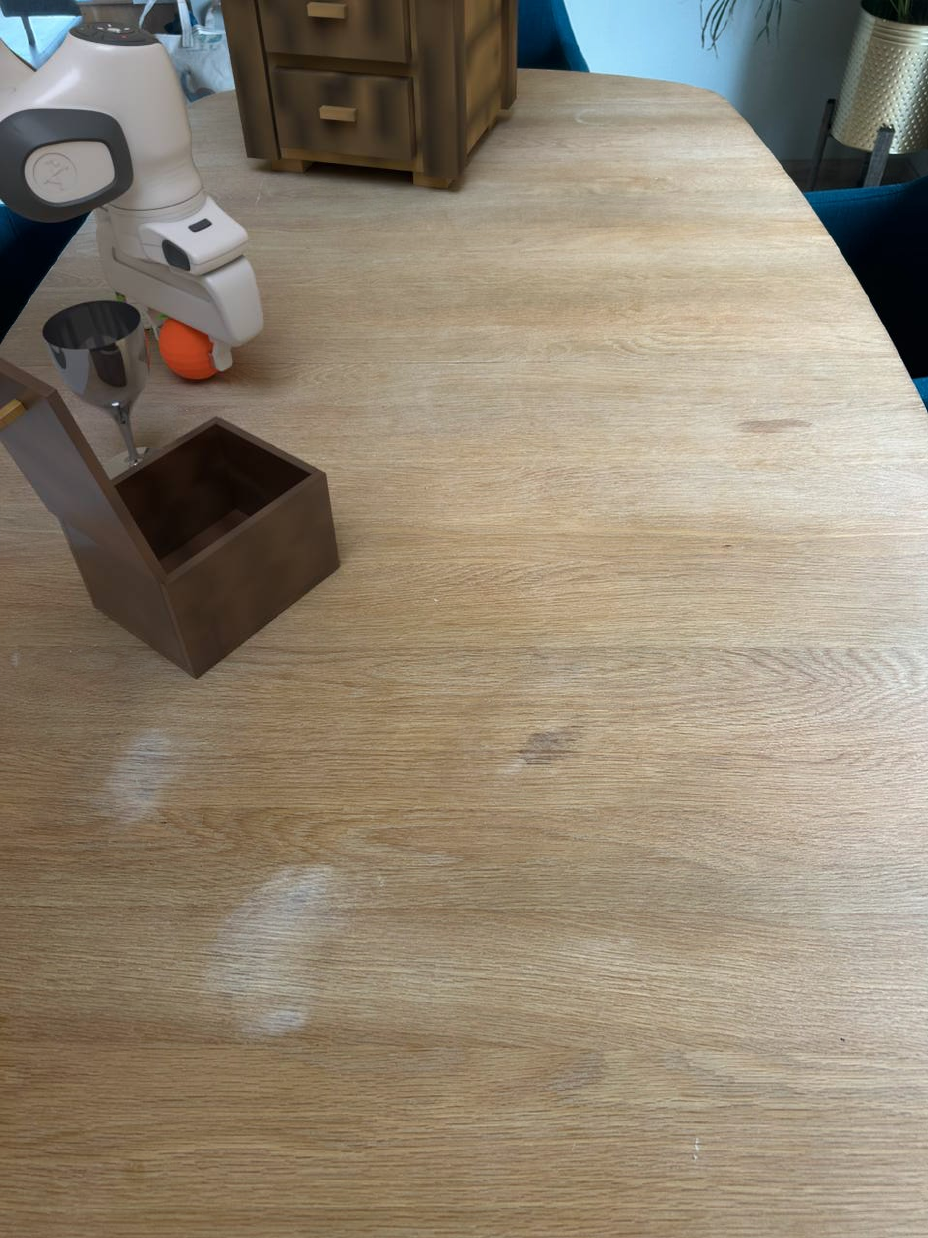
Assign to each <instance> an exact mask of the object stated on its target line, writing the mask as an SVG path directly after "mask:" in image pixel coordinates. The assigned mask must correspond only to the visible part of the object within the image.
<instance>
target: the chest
mask: <svg viewBox="0 0 928 1238" xmlns="http://www.w3.org/2000/svg"><path fill="white" fill-rule="evenodd" d="M111 482H112V484H113V485H114V487H115V489H116V490H117V492H118V494H119V495H120V497H121V499H122V500H123V502H124V504H125V506H126V507H127V509H128V511H129V512H130V514H131V516H132V517H133V519H134V521H135V522H136V524H137V526H138V527H139V529H140V531H141V533H142V534H143V536H144V538H145V539H146V541H147V543H148V544H149V546H150V548H151V549H152V551H153V553H154V554H155V556H156V558H157V560H158V561H159V563H160V565H161V566H162V568H163V570H164V571H165V573H166V575H167V578H166V579H165V580H164V581H163V582H162V583H160V584H158V583H157V582H155V581H154V580H152V579H151V578H149V577H148V576H146V575H145V574H143V573H142V572H140V571H139V570H137V569H135V568H134V567H132V566H131V565H129V564H128V563H126V562H125V561H123V560H122V559H120V558H119V557H117V556H116V555H114V554H113V553H111V552H110V551H108V550H107V549H105V548H104V547H102V546H101V545H99V544H98V543H96V542H95V541H93V540H92V539H90V538H89V537H87V536H86V535H84V534H82V533H81V532H79V531H78V530H76V529H75V528H73V527H72V526H70V525H69V524H67V523H66V522H64V521H63V520H61V519H60V518H58V517H57V516H56V518H57V520H58V522H59V525H60V528H61V530H62V532H63V535H64V537H65V539H66V542H67V545H68V547H69V549H70V552H71V554H72V557H73V560H74V562H75V564H76V566H77V569H78V572H79V574H80V577H81V580H82V582H83V584H84V586H85V588H86V592H87V593H88V596H89V599H90V601H91V603H92V605H93V607H94V608H95V609H97V611H99V612H100V613H102V614H104V615H105V616H106V617H108V618H109V619H111V620H112V621H113V622H114V623H116V624H118V625H119V626H121V627H122V628H124V629H125V630H126V631H127V632H129V633H130V634H132V635H133V636H134V637H136V638H137V639H139V640H140V641H141V642H143V643H144V644H146V645H147V646H148V647H150V648H151V649H153V650H154V651H156V652H157V653H159V654H160V655H161V656H163V658H166V659H167V660H168V661H170V662H171V663H173V664H174V665H176V666H177V667H178V668H180V669H181V670H183V671H184V672H185V673H187V674H188V675H190V676H191V677H192V678H194V679H195V680H197V679H199V678H200V677H201V676H202V675H204V674H205V673H206V672H208V671H209V670H210V669H211V668H213V667H214V666H216V664H218V663H219V662H221V661H222V660H223V659H224V658H225V657H227V656H228V655H230V653H232V652H233V651H234V650H236V649H237V648H239V646H241V645H243V644H244V643H245V642H246V641H247V640H248V639H250V638H251V637H252V636H254V635H255V634H256V633H258V632H259V631H260V630H261V629H263V628H264V627H266V625H268V624H269V623H270V622H272V620H274V619H275V618H276V617H278V616H279V615H281V614H282V613H283V612H285V610H287V609H288V608H289V607H290V606H292V605H293V604H295V603H296V602H297V601H298V600H300V599H301V598H302V597H303V596H305V595H306V594H307V593H308V592H310V591H312V589H314V588H315V587H316V586H318V585H319V584H320V583H322V581H324V580H325V579H327V578H328V577H329V576H330V575H331V574H333V573H334V572H335V571H337V570H338V569H339V568H340V567H341V563H340V557H339V556H340V555H339V550H338V543H337V537H336V530H335V525H334V523H335V522H334V517H333V510H332V504H331V495H330V489H329V482H328V477H327V472H325V471H323V470H321V469H320V468H317V467H316V466H313V465H312V464H310V463H308V462H306V461H304V460H303V459H300V458H298V457H297V456H294V455H293V454H290V453H289V452H288V451H285V450H283V449H282V448H280V447H277V446H275V445H273V444H271V443H270V442H268V441H265V440H264V439H262V438H260V437H258V436H256V435H254V434H252V433H250V432H249V431H247V430H245V429H243V428H241V427H239V426H237V425H236V424H234V423H232V422H230V421H228V420H226V419H224V418H221V417H220V416H217V415H214V416H213V417H211V418H210V419H208V420H207V421H205V422H202V423H201V424H199V425H198V426H196V427H194V428H193V429H192V430H190V431H189V432H186V433H185V434H183V435H182V436H179V438H177V439H175V440H174V441H171V442H170V443H169V444H167V445H164V446H163V447H161V448H160V450H159V451H157V452H155V453H154V454H152V455H150V456H149V457H147V458H146V459H144V460H142V461H141V462H139V463H137V464H136V465H134V466H132V467H131V468H129V469H127V470H126V471H124V472H123V473H121V474H119V475H118V476H116V477H114V478H113V479H111Z"/></svg>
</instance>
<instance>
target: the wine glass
mask: <svg viewBox="0 0 928 1238" xmlns="http://www.w3.org/2000/svg"><path fill="white" fill-rule="evenodd" d="M41 335H42V338H43V341H44V344H45V347H46V350H47V352H48V354H49V357H50V359H51V361H52V364H53V366H54V367H55V370H56V372H57V373H58V375H59V377H60V379H61V380H62V382H63V383H64V385H65V386H66V388H67V389H68V390H69V391H70V392H71V394H72V395H73V396H74V397H75V398H76V399H78V400H79V401H80V402H82V403H84V404H85V405H87V406H89V407H91V408H93V409H95V410H97V411H99V412H101V413H104V414H105V415H107V416H108V417H109V418H110V419H111V420H112V421H113V422H114V424H115V425H116V427H117V429H118V431H119V433H120V435H121V437H122V439H123V442H124V444H125V447H126V450H124V451H122V452H120V453H117V454H116V455H114V456H112V457H111V458H110V459H108V460H107V461H106V462H105V463H104V464H103V465H102V467H103V468H104V470H105V472H106V473H107V475H108V477H109V479H110V480H111V479H113V478H114V477H116V476H118V475H119V474H121V473H123V472H124V471H126V470H127V469H129V468H131V467H132V466H134V465H136V464H137V463H139V462H141V461H142V460H144V459H146V458H147V457H149V456H150V455H152V454H154V453H155V452H157V451H159V450H160V449H161V448H160V447H155V446H141V447H137V446H136V443H135V440H134V435H133V429H132V423H131V422H132V421H131V416H132V412H133V409H134V407H135V405H136V403H137V402H138V400H139V399H140V397H141V396H142V394H143V393H144V391H145V389H146V387H147V385H148V382H149V380H150V374H151V373H150V371H151V360H150V359H151V358H150V357H151V356H150V350H149V349H150V348H149V343H148V338H147V333H146V329H144V325H143V322H142V318H141V315H140V313H139V311H138V310H137V309H136V308H135V307H134V306H132V305H130V304H127V303H124V302H120V301H117V300H113V299H99V300H91V301H84V302H81V303H76V304H74V305H70V306H68V307H65V308H63V309H62V310H60V311H58V312H56V313H54V314H53V315H52V316H50V318H48V320H47V321H46V322H45V323H44V325H43V327H42V330H41Z"/></svg>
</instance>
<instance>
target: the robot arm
mask: <svg viewBox="0 0 928 1238" xmlns="http://www.w3.org/2000/svg"><path fill="white" fill-rule="evenodd" d="M189 117H190V116H189V113H188V109H187V105H186V101H185V97H184V94H183V90H182V86H181V83H180V80H179V77H178V74H177V70H176V68H175V65H174V62H173V59H172V57H171V54H170V53H169V51H168V49H167V47H166V46H165V44H164V43H163V42H162V41H160V40H159V38H158V37H156V36H155V35H153V34H151V33H150V32H149V31H147V30H145V29H143V28H141V27H139V26H136V25H133V24H127V23H124V22H117V21H106V20H105V21H104V20H103V21H102V20H100V21H99V20H98V21H88V22H84V23H81V24H77V25H75V26H72V27H70V28H69V30H68V31H67V33H66V35H65V37H64V39H63V42H62V43H61V45H60V46H59V47H58V48H57V50H56V51H55V52H54V53H53V54H52V55H51V57H50V58H49V59H48V60H47V61H45V62H44V64H43V65H42V66H41V67H39V68H36V67H35V66H33V64H31V63H29V62H28V61H27V60H26V59H24V58H23V57H22V56H20V54H18V53H16V52H15V51H14V50H13V49H11V47H9V46H8V44H7V43H5V41H4V40H3V39H2V37H0V202H1V203H3V204H4V206H6V207H7V208H8V209H9V210H11V211H12V212H14V213H15V214H17V215H19V216H20V217H23V218H25V219H28V220H30V221H35V222H38V223H39V222H40V223H49V224H50V223H51V224H53V223H61V222H62V223H63V222H66V221H68V220H72V219H75V218H77V217H80V216H81V215H84V214H88V213H90V212H93V210H94V209H96V214H97V218H98V221H99V224H98V225H97V224H96V228H95V235H96V236H95V237H96V244H97V249H98V254H99V259H100V262H101V267H102V271H103V274H104V278H105V280H106V282H107V283H108V285H109V287H110V288H111V289H112V290H113V291H114V292H115V291H116V292H118V293H120V294H122V295H125V296H127V297H129V298H131V299H133V300H135V301H137V302H139V306H140V309H141V310H142V312H143V313H144V315H145V317H146V318H147V320H148V321H149V323H150V324H151V325H152V324H153V325H152V327H153V328H152V330H153V334H154V337H155V339H156V340H157V341H159V335H160V331H161V329H162V327H163V325H164V323H165V321H166V320H167V319H168V318H161V319H159V320H157V321H155V320H156V318H158V317H159V316H161V315H162V314H165V315H167V316H169V317H171V318H173V319H175V320H177V321H180V322H182V323H184V324H186V325H188V326H190V327H192V328H194V329H196V330H199V331H201V332H203V333H205V334H207V335H208V337H209V340H210V342H212V343H213V342H214V345H213V350H211V351H209V352H207V355H208V359H209V364H210V366H212V367H214V368H215V369H218V370H219V371H218V372H224V371H226V370H228V369H229V368H231V367H232V366H233V358H232V348H238V347H241V346H243V345H245V344H246V343H249V341H252V340H253V339H255V338H257V337H258V336H259V335H260V334H261V333H262V330H263V328H264V313H263V307H262V302H261V301H262V300H261V295H260V290H259V286H258V281H257V277H256V274H255V270H254V269H253V266H252V264H251V263H250V261H249V260H248V258H247V257H246V256H245V255H244V254H246V253H247V252H249V251H250V250H251V242H250V237H249V233H248V232H247V230H246V229H245V228H244V227H243V226H242V225H241V224H240V223H238V222H237V221H236V220H235V219H233V218H232V217H230V216H229V214H227V213H226V212H225V211H224V210H223V209H222V208H221V207H220V206H219V205H218V204H217V203H216V202H215V201H214V199H213V198H212V197H211V196H210V195H208V194H206V191H205V187H204V183H203V178H202V175H201V173H200V171H199V168H198V167H197V166H196V163H195V161H194V157H193V150H192V149H193V148H192V145H193V131H192V126H191V121H190V118H189ZM154 321H155V322H154ZM153 322H154V323H153Z"/></svg>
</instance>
